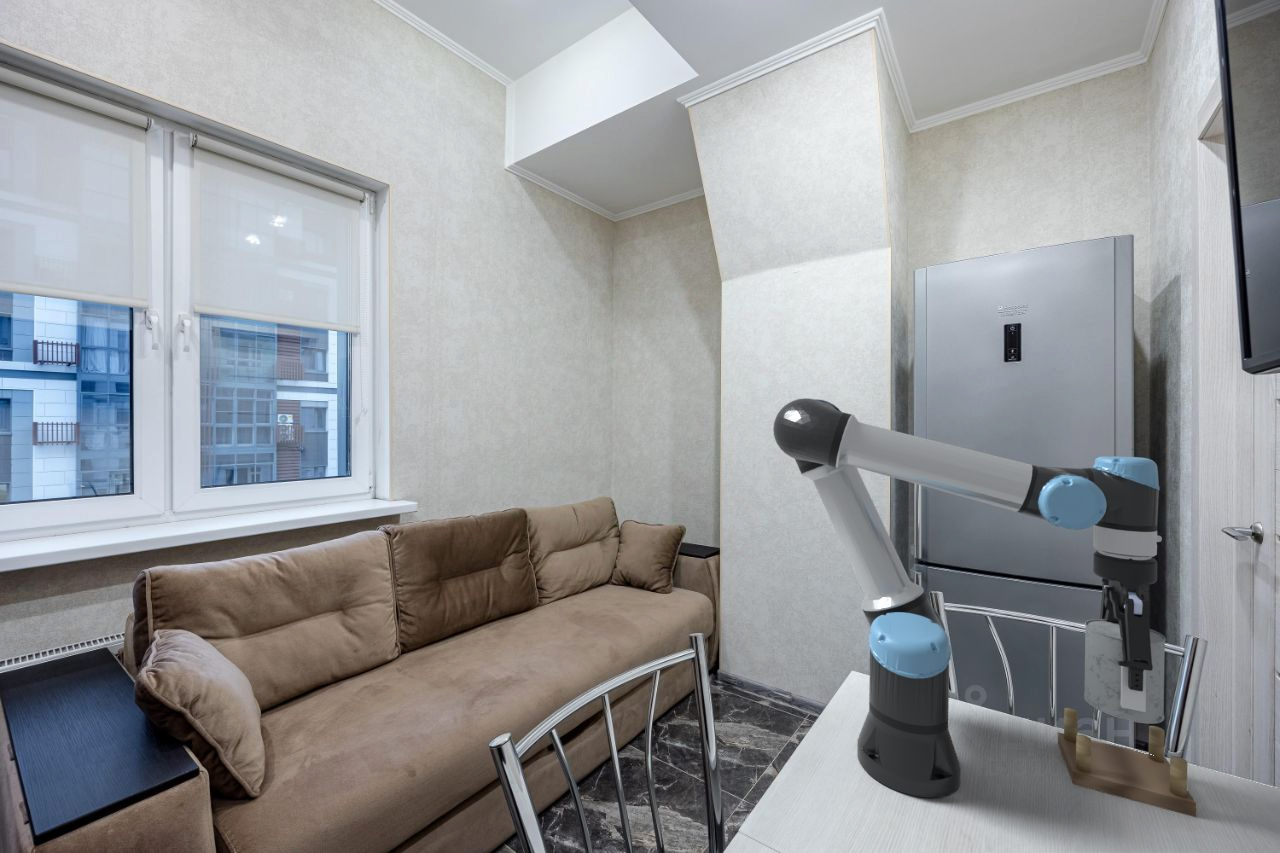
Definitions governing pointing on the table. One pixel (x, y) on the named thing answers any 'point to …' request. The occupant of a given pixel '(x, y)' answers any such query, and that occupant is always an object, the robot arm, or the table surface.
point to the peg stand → (1126, 768)
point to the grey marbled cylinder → (1106, 673)
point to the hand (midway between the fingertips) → (1122, 693)
